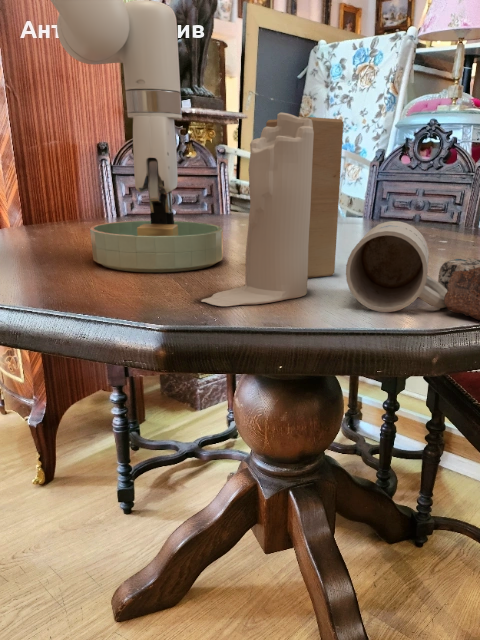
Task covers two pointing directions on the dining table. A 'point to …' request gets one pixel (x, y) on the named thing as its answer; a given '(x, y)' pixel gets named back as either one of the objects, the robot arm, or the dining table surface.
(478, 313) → the stone
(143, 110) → the robot arm
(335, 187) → the decorative block
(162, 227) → the block
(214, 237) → the bowl
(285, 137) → the candle
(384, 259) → the mug
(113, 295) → the dining table surface
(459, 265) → the rock
